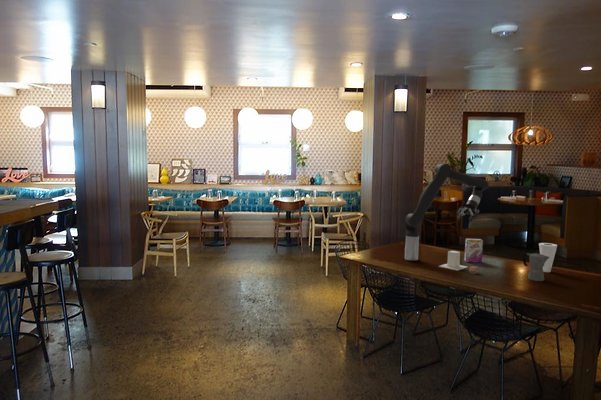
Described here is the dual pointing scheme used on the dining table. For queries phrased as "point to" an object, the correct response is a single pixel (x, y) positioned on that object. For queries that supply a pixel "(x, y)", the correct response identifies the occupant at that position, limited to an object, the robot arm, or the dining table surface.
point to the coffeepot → (535, 265)
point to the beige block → (453, 259)
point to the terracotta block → (473, 269)
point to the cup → (548, 254)
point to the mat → (453, 267)
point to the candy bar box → (473, 250)
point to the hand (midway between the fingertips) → (464, 220)
